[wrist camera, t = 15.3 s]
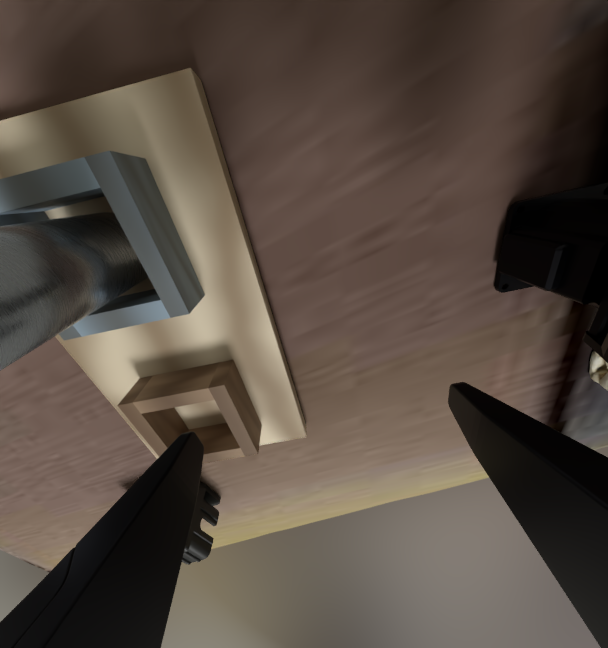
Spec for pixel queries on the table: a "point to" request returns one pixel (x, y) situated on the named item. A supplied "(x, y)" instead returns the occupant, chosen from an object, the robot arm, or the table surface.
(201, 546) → the end cap
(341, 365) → the table surface
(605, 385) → the storage basket
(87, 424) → the table surface
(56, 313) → the grey long rounded piece
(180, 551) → the robot arm
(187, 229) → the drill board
